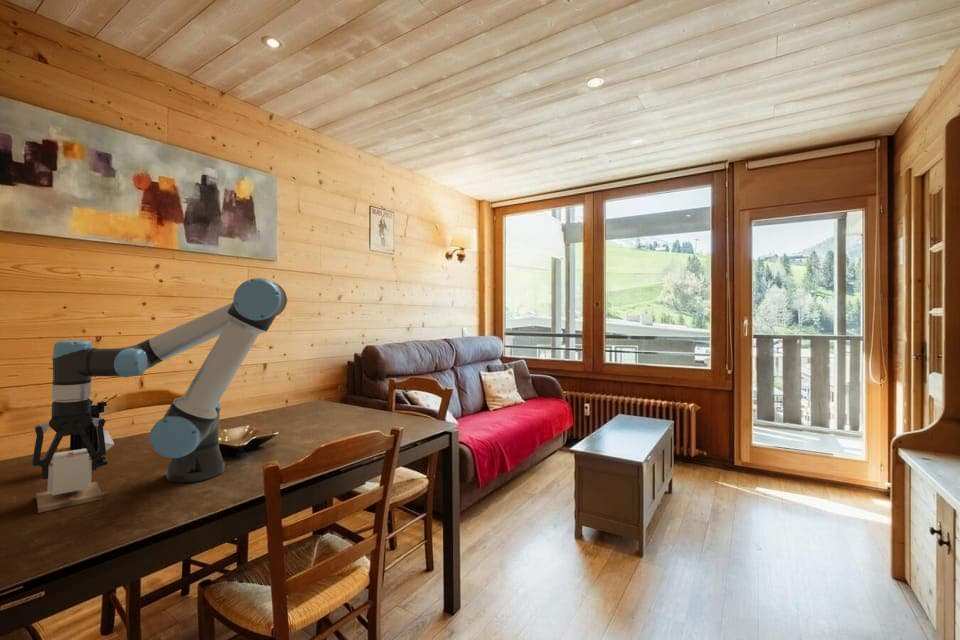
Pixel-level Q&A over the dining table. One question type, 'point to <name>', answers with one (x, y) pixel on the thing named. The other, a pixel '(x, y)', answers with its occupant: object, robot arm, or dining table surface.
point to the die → (108, 440)
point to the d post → (69, 493)
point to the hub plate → (67, 498)
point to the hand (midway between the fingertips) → (69, 486)
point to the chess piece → (90, 434)
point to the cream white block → (70, 471)
